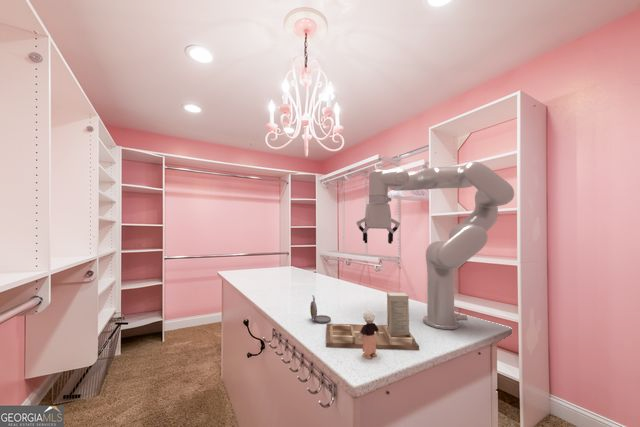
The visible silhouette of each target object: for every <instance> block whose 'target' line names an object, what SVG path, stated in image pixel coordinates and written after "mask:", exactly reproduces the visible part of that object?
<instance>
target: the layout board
mask: <svg viewBox="0 0 640 427" xmlns="http://www.w3.org/2000/svg"><path fill="white" fill-rule="evenodd" d="M364 325H365V324H353V323H351V324H349V323H326V331H325V333H326V336H325V338H326V341H325V347H326V348H348V349H363V342H364V335H363V337H362V340H359V336H360V331H361V329H362V327H363V326H364ZM375 325H376V326H377V327H378V329H379V333H380V336H377V333H376V332H375V333H374V337H375V343H376V350H398V351H399V350H402V351H403V350H405V351H420V345H419V344H418V343H417V341H416V339H415V337H414V335H413V334H412V333H411V332H410V331H409V335H397V334H389V332H388V324H386V325H383V324H375Z"/></svg>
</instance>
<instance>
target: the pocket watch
mask: <svg viewBox="0 0 640 427" xmlns="http://www.w3.org/2000/svg"><path fill="white" fill-rule="evenodd" d="M309 309H310V316H311V319H312V320H313V321H314V322H316V323H321V324H324V323H326V324H327V323H329V322H331V321H332V320H331V319H332V318H331V317H330V316H329V315H323V314H320V315H318V308H317V303H316V298H315V296H314V294H312V301H311V303H310V308H309Z"/></svg>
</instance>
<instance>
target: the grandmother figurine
mask: <svg viewBox="0 0 640 427" xmlns="http://www.w3.org/2000/svg"><path fill="white" fill-rule="evenodd" d="M363 319H364V322H365V323H366V324H363V325H364V326H363V327H362V329H361V331H360V336H359V340H362V337H363V335H364V342H363V348H362V352H363V353H362V355H361V356H362V358H365V359H367V360H370V359H372V357H374V358H376V357H377V356H378V354H377V353H376V352H377V349H376V343H375V337H374V333H375V332H376V333H377V336H380V333H379V329H378V327H377V326H376V325H377V324H376V323H375V322H374V321H375V319H376V315H375V312H373V311H372V310H371V309H370V310H366V311H364V313H363Z"/></svg>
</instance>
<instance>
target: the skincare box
mask: <svg viewBox="0 0 640 427" xmlns="http://www.w3.org/2000/svg"><path fill="white" fill-rule="evenodd" d="M386 302H387V304H386V305H387V306H386V308H387V309H386V311H387V313H386V314H387V316H386V317H387V319H386V320H387V325H388V332H389V334H397V335H409V332H410V312H409V311H410V308H409V307H410V306H409V295H408V294H407V293H406V292H387V293H386Z"/></svg>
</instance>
